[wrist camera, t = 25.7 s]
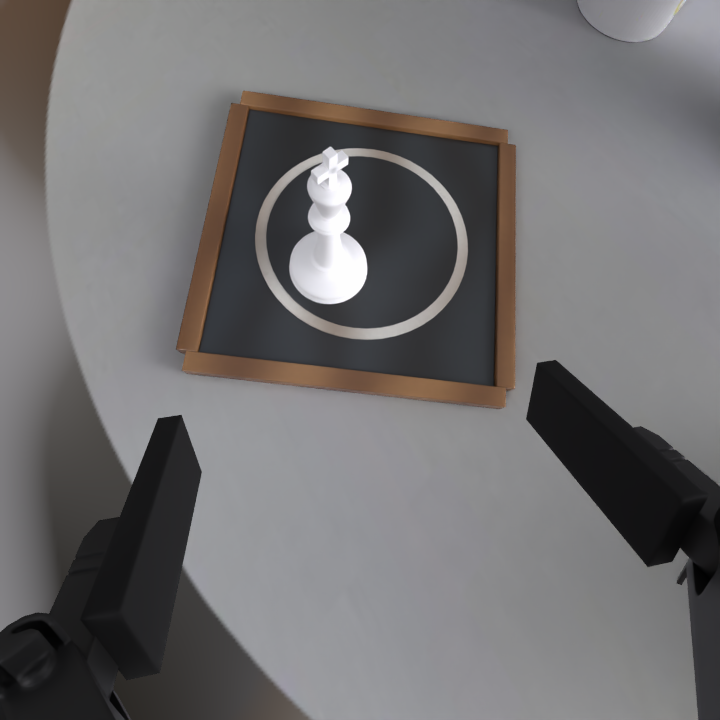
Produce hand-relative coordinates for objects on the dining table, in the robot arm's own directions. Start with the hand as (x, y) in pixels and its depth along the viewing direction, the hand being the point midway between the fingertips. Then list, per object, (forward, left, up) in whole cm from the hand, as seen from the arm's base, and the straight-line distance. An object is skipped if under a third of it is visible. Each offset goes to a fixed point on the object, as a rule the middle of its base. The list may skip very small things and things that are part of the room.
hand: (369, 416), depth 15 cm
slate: (-1, +13, -9) cm, 16 cm away
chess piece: (-3, +10, -9) cm, 14 cm away
